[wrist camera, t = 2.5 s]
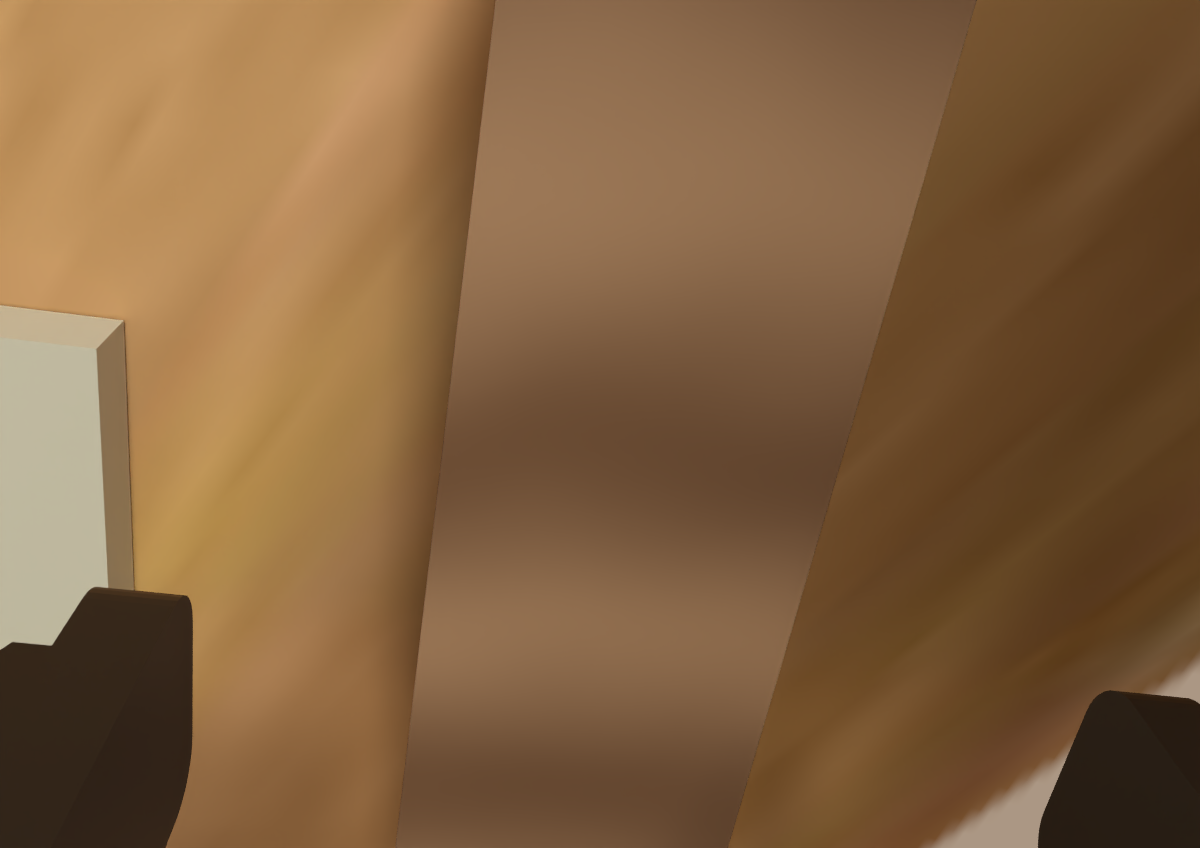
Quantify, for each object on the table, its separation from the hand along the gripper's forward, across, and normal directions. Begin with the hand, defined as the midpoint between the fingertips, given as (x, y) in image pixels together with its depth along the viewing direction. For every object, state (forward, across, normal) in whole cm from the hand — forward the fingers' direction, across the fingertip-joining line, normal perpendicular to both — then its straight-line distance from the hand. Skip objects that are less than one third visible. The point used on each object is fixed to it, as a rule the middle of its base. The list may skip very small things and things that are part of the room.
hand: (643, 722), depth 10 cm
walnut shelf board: (+10, 0, 0) cm, 10 cm away
